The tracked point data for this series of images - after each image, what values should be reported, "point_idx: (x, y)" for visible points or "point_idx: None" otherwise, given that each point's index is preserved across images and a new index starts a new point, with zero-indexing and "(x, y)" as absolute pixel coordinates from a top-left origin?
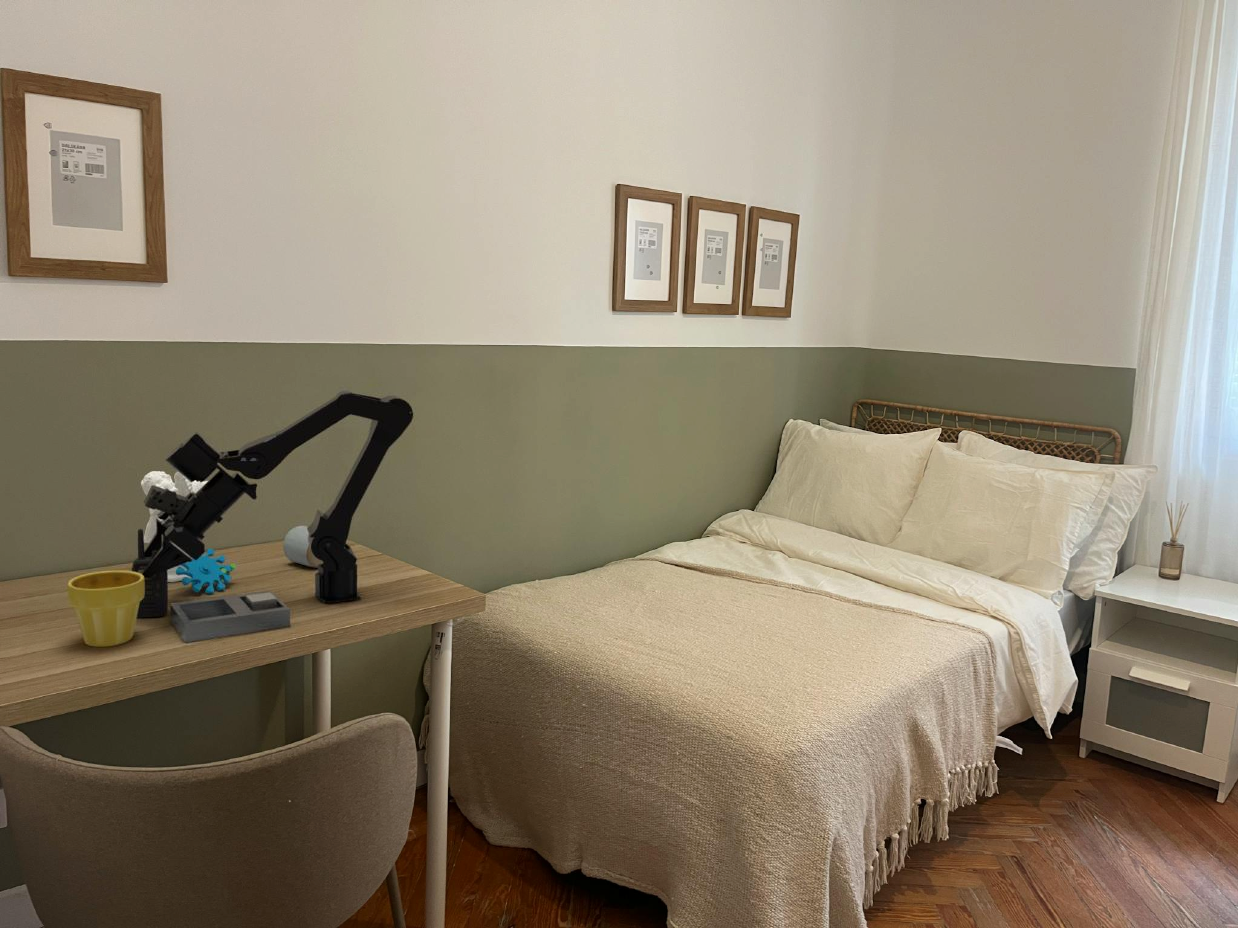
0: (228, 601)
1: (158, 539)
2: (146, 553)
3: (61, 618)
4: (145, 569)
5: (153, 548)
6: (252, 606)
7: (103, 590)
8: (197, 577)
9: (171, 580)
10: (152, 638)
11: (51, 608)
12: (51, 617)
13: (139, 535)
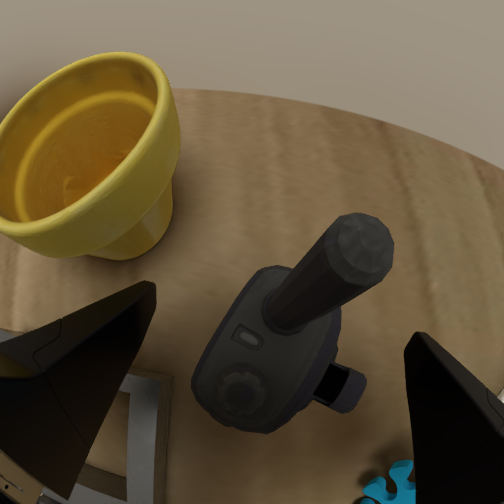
0: (99, 497)
1: (472, 439)
2: (430, 367)
3: (342, 173)
4: (129, 289)
5: (442, 404)
6: (39, 497)
7: (5, 120)
8: (402, 497)
9: None
10: (76, 291)
11: (416, 179)
12: (357, 162)
13: (311, 249)
